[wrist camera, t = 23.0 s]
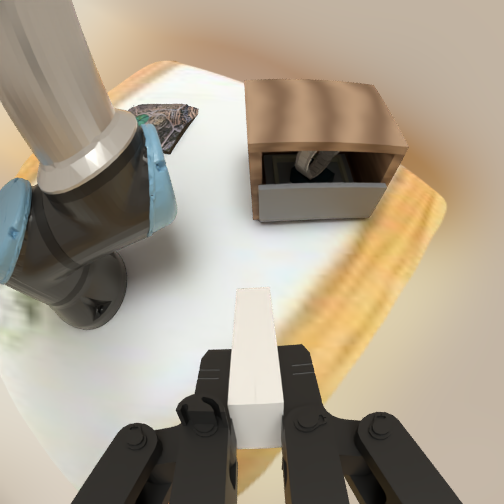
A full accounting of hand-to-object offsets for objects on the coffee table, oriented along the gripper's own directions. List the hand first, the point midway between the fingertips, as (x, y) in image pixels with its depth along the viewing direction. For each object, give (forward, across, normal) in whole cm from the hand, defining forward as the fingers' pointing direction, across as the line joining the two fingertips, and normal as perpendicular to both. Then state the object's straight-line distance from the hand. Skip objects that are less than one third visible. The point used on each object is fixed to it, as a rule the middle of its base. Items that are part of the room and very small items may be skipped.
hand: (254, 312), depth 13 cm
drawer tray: (+35, +10, 0) cm, 37 cm away
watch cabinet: (+38, +10, +1) cm, 39 cm away
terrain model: (+52, -22, +14) cm, 59 cm away
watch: (+35, +10, +1) cm, 36 cm away
